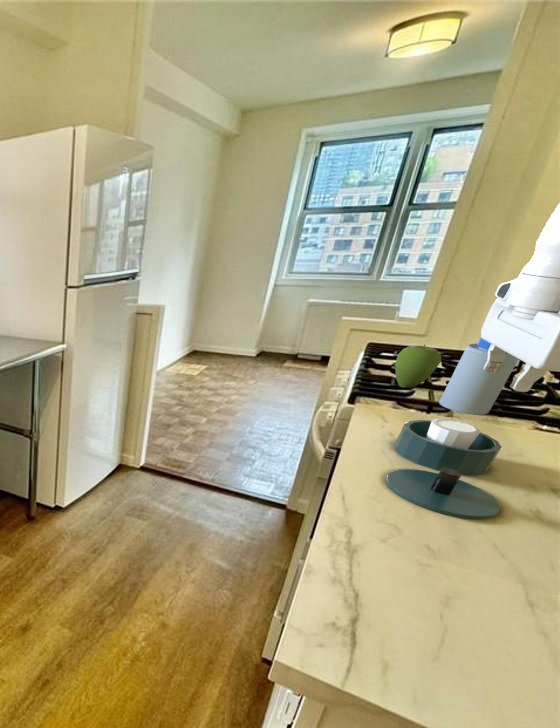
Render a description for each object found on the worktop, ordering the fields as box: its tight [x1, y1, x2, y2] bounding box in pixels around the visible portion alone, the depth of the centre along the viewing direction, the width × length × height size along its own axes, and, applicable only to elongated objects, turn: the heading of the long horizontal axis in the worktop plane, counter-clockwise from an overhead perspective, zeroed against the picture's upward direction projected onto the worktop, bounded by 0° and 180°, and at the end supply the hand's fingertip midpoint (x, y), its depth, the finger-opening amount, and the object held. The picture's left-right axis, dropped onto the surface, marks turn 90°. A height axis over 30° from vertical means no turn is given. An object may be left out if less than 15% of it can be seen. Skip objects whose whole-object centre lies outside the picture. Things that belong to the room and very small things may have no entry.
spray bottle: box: [438, 337, 519, 416], centre depth 111 cm, size 9×9×25 cm
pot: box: [393, 419, 502, 476], centre depth 93 cm, size 14×14×5 cm
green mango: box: [394, 344, 442, 389], centre depth 126 cm, size 9×8×12 cm
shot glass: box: [426, 418, 481, 449], centre depth 93 cm, size 7×7×7 cm
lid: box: [385, 468, 501, 520], centre depth 82 cm, size 15×15×5 cm
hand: (503, 380), depth 81 cm, fingers open, 8 cm apart
